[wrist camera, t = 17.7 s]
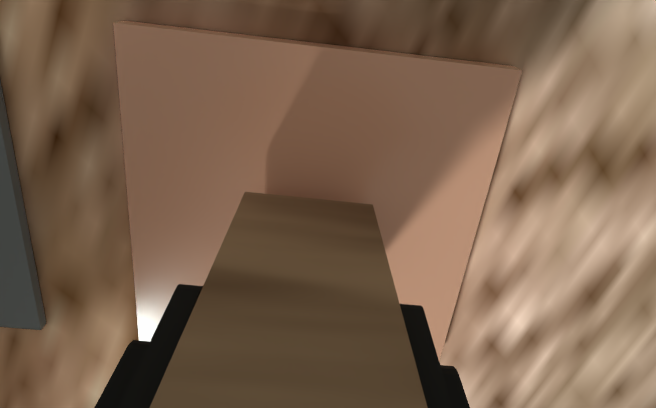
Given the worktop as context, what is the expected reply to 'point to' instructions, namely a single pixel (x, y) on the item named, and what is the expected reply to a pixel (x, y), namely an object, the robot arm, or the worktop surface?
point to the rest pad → (303, 150)
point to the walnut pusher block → (296, 315)
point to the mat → (15, 244)
